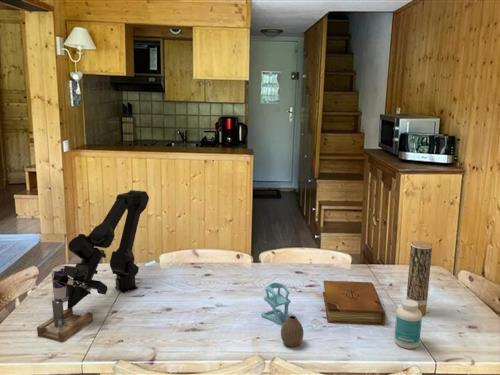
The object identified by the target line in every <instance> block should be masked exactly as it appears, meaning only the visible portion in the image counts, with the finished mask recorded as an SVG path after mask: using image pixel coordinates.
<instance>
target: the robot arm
mask: <svg viewBox="0 0 500 375" xmlns="http://www.w3.org/2000/svg"><path fill="white" fill-rule="evenodd" d="M149 200H150V196H149V194H148V193H147V191H145V190H144V191H143V190H135V189H131V190H129V191H128V192H123V193H120V194H117V196H116V198H115V202H114V203H113V205H112V206H111V208H110V209H109V210H108V213H107V214H106V216H105V218H104V219H103V221H102V222H101V223H100V224H99V225H96V226H95V227H94V228H93V229H92V230H91V231H90V233H89V234H88V235H86V234H84V233H79V234H78V236H76V237H74V238H72V239H71V240H70V241H69V243H68V250H69V252H71V253H72V254H73V255H74V256H75V257H77V258H78V259H81V261H80V262H76V264H75V265H63V266H64V271H63V274H59V273H57V274H56V275H55V276H54V278H53V281H54V282H56V283H57V284H59V285H61V286H63V287H67V288H68V300H67V305H66V306H67V308H66V309H73V308H74V307H75V306H76V305H78V303H79V302H80V301H82V300H83V299H84V298H86V297H88V296H89V295H91V294H92V292H91V291H92V290H96V291H97V292H96V293H98V294H100V295H107V292H108V285H106V284H105V283H104V282H102V281H101V280H96V279H93V277H94V275H97V274H98V273H99V271H98V270H97V269H98V267H99V264H100V262H101V260H102V259H106V257H107V256H106V253H105V250H103V249H107V248H110V246H112V244H113V241H114V240H115V239H114V238H115V234H116V233H115V230H116V228H117V227H118V224H119V223H120V221H121V219H122V218H123V215H125V213H126V217H125V221H124V226H123V230H122V234H121V237H120V241H119V247H118V248H117V250H115V251H112V252H111V256H110V260H109V268H110V270H111V272H112V274H113V275H115V276H116V278H115V286H114V289H116V290H117V291H119V292H121V293H123V294H124V293H128V292H130V291H133V290H136V289H138V286H137V285H136V276H137V274H138V273H139V269H140V268H139V267H140V266H138V265H137V264H136V263H135V255H134V252H133V247H134V244H135V243H134V242H135V240H136V235H137V230H138V227H139V221H140V217H141V214H142V213H143V212H144V211H145V210H146V209H147V207H148V203H149ZM126 211H127V212H126ZM100 248H101V249H100Z"/></svg>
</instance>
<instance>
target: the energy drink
mask: <svg viewBox="0 0 500 375" xmlns="http://www.w3.org/2000/svg"><path fill="white" fill-rule="evenodd" d="M64 266H65V265H57V266H53V267H52V268H51V282H52V284H51V285H52V293H53V294H52V295H53V301H54V300H58V299H60V300H62V302H65V301H68V288H67V287H63V286H61V285H59V284H57V283H56V282H54V281H53V278H54V276H55V275H56V274H57V273H59V274H63V271H64Z"/></svg>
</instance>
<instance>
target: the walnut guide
mask: <svg viewBox="0 0 500 375" xmlns="http://www.w3.org/2000/svg"><path fill="white" fill-rule="evenodd" d="M63 313H64V319H66V320H69V321H71V322H73V323H71V324H69V325H68V326H67V327H65V328H64V329H62V330H61V331H59V332H58V335H55V334H51V333H47V332H45V327H46V326H48V325H50V324H51V323H53V322H54V317H51V318H49V319H48V320H47V321H45V322H43V323H42V324H40V325H38V326H37V327H36V332H37V337H41V338H45V339H49V340H53V341H56V342H60V343H64V342H65V341H67V340H69V338H71V337H73V336H74V335H75V334H77V333H78V332H80V331H82V329H84V328H86V327H87V326H89V325H91V323H93V322H94V315H93V314H94V313H93V312H91V311H88V312H86V313H85V314H84V315H79V314H74V310H73V308H72V309H68V308H66V309H65V310H64V309H63Z"/></svg>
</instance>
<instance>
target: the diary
mask: <svg viewBox="0 0 500 375" xmlns="http://www.w3.org/2000/svg"><path fill="white" fill-rule="evenodd" d="M323 288H324V289H323V290H324V291H322V292H323V293H322V295H323V300H324V301H323V302H324V308H325V314H326V315H325V317H326V321H327V324H345V325H365V326H384V325H385V324H386V311H385V309H384V307H383V305H382V302H381V300H380V297H379V295H378V293H377V290H376V288H375V285H374V284H373V282H372V281H370V282H369V281H351V280H350V281H345V280H323Z"/></svg>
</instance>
